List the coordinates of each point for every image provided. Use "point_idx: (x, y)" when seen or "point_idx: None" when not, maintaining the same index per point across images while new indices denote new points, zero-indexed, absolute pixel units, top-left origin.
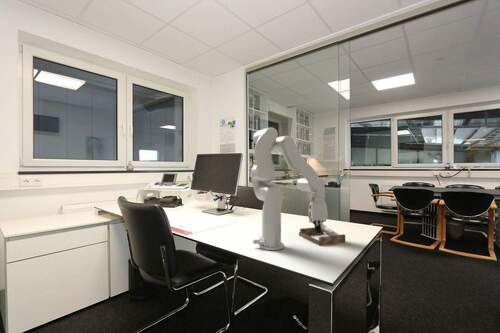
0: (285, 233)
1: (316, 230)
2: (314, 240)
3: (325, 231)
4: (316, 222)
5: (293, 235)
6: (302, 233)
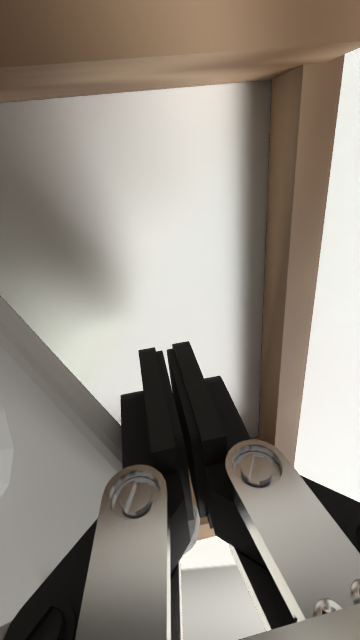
0: (340, 492)
1: (220, 380)
2: (321, 170)
3: (34, 359)
4: (329, 531)
5: (318, 449)
6: (289, 437)
